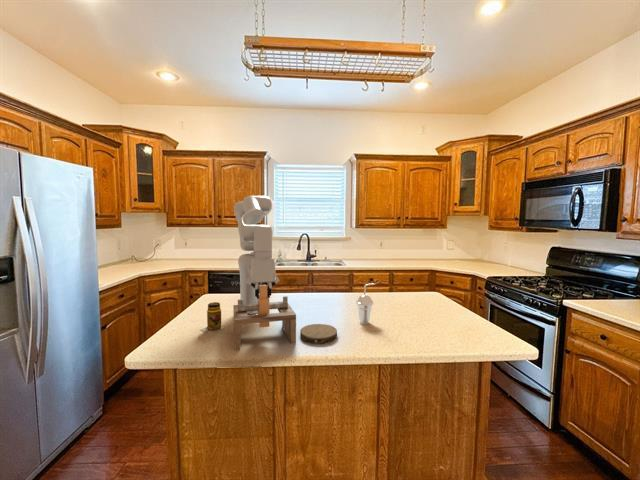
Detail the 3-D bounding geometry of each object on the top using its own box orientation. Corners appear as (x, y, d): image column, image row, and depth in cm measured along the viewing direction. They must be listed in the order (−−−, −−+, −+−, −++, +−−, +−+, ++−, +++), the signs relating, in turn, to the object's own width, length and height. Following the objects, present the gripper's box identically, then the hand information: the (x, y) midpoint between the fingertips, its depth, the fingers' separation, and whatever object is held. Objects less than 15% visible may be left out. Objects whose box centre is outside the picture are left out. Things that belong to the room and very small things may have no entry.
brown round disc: (302, 329, 137) (302, 323, 137) (336, 330, 137) (336, 324, 136) (298, 344, 121) (298, 337, 121) (337, 345, 121) (337, 338, 120)
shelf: (233, 331, 133) (233, 294, 132) (286, 326, 141) (286, 290, 139) (235, 350, 114) (234, 307, 113) (295, 343, 122) (296, 302, 120)
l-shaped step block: (257, 320, 130) (257, 283, 129) (266, 320, 132) (266, 283, 130) (259, 327, 123) (259, 288, 121) (269, 326, 124) (269, 287, 123)
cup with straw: (360, 318, 153) (361, 279, 151) (376, 322, 147) (377, 282, 146) (352, 323, 146) (353, 282, 144) (369, 327, 140) (370, 285, 139)
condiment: (215, 333, 132) (215, 306, 131) (199, 330, 134) (199, 304, 133) (225, 327, 139) (225, 302, 138) (210, 325, 141) (210, 300, 140)
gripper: (243, 256, 119) (243, 301, 120) (284, 255, 124) (284, 298, 125) (242, 254, 126) (242, 296, 127) (281, 253, 131) (281, 294, 132)
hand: (263, 297), depth 126 cm, fingers closed on l-shaped step block, 4 cm apart
